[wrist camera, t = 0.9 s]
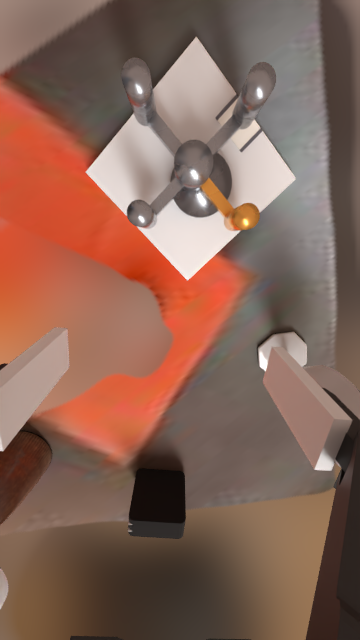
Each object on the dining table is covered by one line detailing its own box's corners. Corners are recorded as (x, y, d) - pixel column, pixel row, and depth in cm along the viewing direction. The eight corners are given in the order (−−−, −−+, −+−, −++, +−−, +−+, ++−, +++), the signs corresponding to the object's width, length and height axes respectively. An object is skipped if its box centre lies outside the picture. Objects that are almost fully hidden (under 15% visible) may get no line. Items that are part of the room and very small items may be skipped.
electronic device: (182, 485, 53) (183, 539, 44) (136, 482, 53) (127, 536, 43) (184, 471, 52) (185, 523, 42) (137, 467, 51) (127, 519, 42)
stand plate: (89, 174, 34) (84, 171, 32) (195, 46, 30) (196, 34, 28) (187, 278, 39) (187, 280, 37) (291, 181, 34) (296, 178, 33)
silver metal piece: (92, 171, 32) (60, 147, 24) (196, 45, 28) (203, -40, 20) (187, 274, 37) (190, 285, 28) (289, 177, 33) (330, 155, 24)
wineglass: (266, 382, 45) (336, 498, 25) (248, 344, 42) (309, 438, 22) (312, 363, 44) (424, 468, 24) (296, 322, 41) (406, 401, 21)
